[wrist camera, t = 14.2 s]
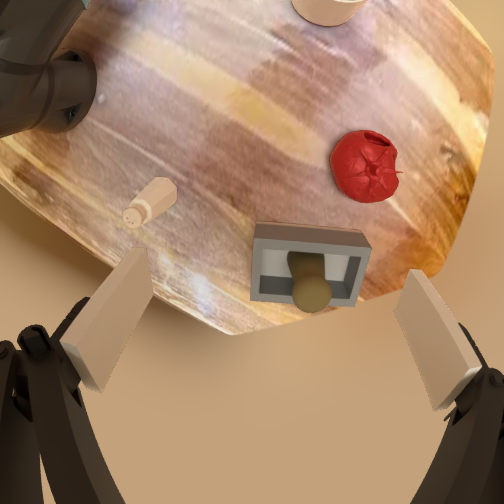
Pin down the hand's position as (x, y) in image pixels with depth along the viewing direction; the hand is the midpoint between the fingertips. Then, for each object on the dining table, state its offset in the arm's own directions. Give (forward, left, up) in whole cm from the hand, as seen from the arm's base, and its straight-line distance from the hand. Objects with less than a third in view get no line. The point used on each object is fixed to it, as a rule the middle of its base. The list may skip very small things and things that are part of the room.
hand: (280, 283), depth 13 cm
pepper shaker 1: (-17, -5, -29) cm, 34 cm away
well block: (+6, -14, -29) cm, 32 cm away
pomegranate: (+12, +2, -29) cm, 31 cm away
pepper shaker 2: (+6, -14, -28) cm, 32 cm away
